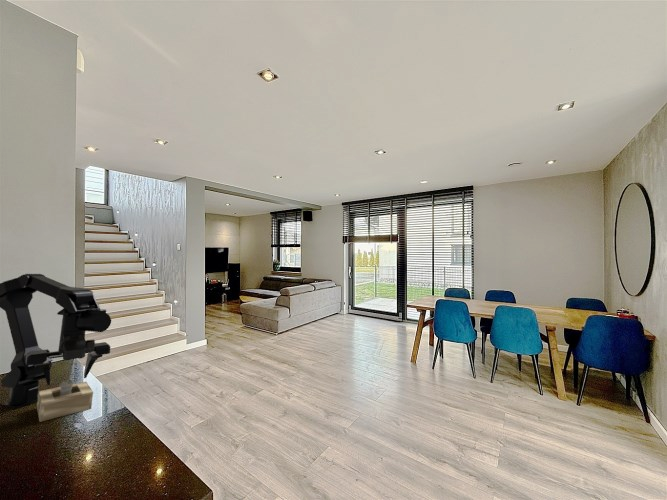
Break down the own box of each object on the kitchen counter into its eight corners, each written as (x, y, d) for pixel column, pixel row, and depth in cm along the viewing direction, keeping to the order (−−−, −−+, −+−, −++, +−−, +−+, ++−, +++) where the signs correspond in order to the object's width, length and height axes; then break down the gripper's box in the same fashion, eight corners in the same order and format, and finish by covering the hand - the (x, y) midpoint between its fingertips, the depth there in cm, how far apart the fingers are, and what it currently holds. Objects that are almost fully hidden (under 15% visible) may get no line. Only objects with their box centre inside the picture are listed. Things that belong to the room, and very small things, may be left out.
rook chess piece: (62, 412, 83) (65, 385, 83) (49, 411, 83) (52, 383, 84) (77, 405, 87) (80, 379, 88) (65, 404, 88) (68, 378, 88)
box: (36, 408, 85) (38, 391, 85) (84, 397, 93) (86, 381, 93) (39, 421, 77) (42, 403, 78) (91, 408, 86) (93, 391, 86)
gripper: (31, 339, 75) (23, 399, 74) (117, 330, 89) (111, 380, 88) (29, 332, 82) (21, 386, 81) (108, 324, 96) (103, 371, 95)
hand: (67, 381), depth 86 cm, fingers open, 8 cm apart
